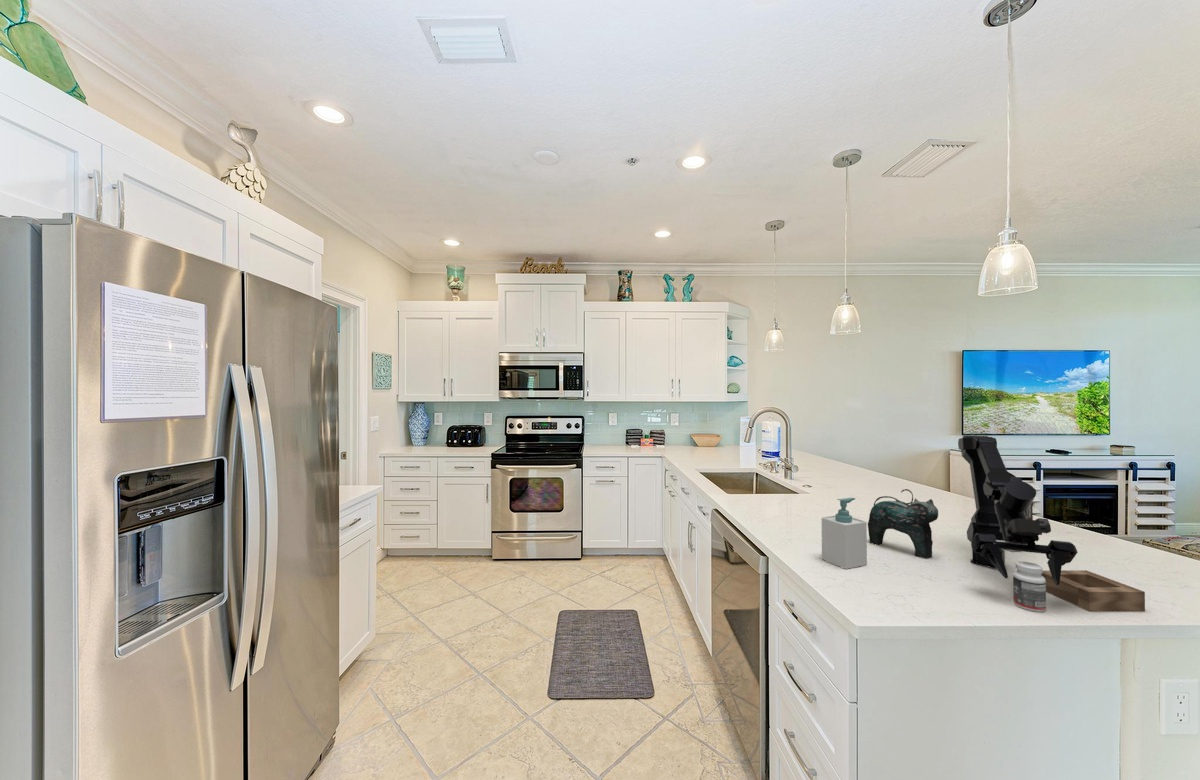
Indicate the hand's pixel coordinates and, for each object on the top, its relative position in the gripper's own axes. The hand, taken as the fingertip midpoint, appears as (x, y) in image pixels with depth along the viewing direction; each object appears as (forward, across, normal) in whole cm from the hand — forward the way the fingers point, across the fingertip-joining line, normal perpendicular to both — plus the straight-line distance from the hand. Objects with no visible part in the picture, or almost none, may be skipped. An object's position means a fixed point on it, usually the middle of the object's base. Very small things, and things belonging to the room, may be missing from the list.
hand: (1031, 581), depth 107 cm
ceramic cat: (-20, -21, +29) cm, 41 cm away
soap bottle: (-6, -38, +16) cm, 42 cm away
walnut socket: (-4, +15, +14) cm, 20 cm away
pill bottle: (+4, 0, +6) cm, 7 cm away
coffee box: (-32, +12, +42) cm, 54 cm away
